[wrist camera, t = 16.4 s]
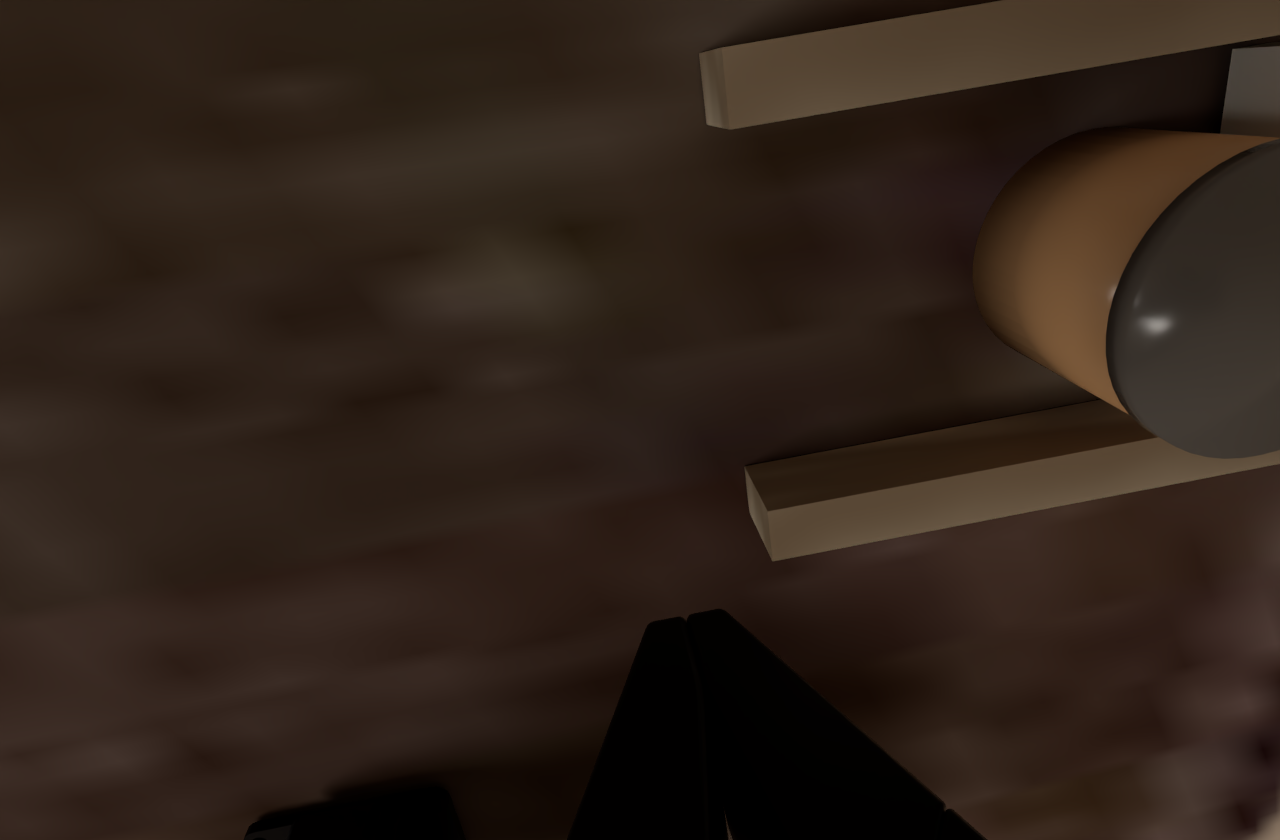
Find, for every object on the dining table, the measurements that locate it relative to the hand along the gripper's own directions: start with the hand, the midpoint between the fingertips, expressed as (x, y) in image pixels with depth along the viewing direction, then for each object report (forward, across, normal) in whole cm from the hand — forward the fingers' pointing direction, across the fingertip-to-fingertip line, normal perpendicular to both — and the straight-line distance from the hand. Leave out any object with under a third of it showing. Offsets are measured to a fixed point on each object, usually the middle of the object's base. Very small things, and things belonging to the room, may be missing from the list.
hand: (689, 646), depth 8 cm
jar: (+12, -12, 0) cm, 17 cm away
